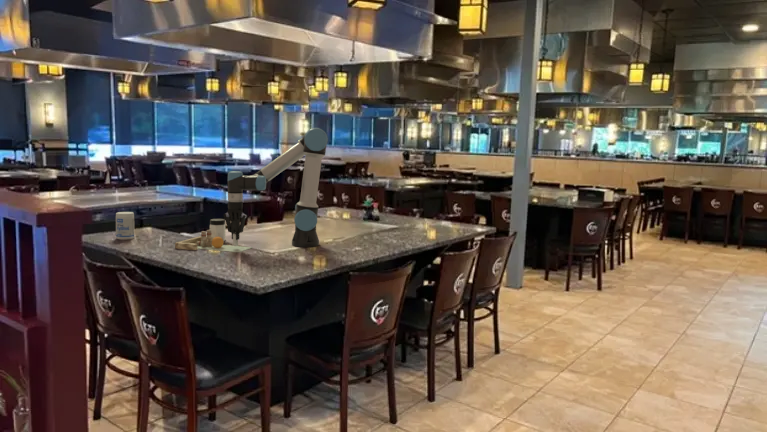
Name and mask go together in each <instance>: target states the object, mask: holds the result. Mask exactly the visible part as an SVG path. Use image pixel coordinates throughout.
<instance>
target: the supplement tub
mask: <svg viewBox="0 0 767 432" xmlns="http://www.w3.org/2000/svg"><path fill="white" fill-rule="evenodd" d="M115 238H116V239H117V240H121V241H126V240H127V241H128V240H133V239H135V213H134V212H133V211H119V212H116V213H115Z"/></svg>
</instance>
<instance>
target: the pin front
mask: <svg viewBox="0 0 767 432" xmlns="http://www.w3.org/2000/svg"><path fill="white" fill-rule="evenodd" d="M196 244H197V246H201V241H197V242H196ZM206 246H207V247H212V246H213V245H212V242H206Z"/></svg>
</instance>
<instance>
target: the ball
mask: <svg viewBox="0 0 767 432" xmlns="http://www.w3.org/2000/svg"><path fill="white" fill-rule="evenodd" d="M224 243H225V241H223V239H222V238H221V237H215V238H213V240H212V245H213V246H214V247H215V248H220V247H222V246H223V245H224Z"/></svg>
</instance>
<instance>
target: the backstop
mask: <svg viewBox="0 0 767 432" xmlns="http://www.w3.org/2000/svg"><path fill="white" fill-rule="evenodd" d="M213 238H214V237H211V242H212V240H213ZM197 241H201V235H200V236H196V237H192V238H187V239H184V240H180V241H177V242H175V243H174V246H175V247H174V249H179V250H188V251H198V249H197V244H196V242H197ZM206 242H207V236H206Z"/></svg>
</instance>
